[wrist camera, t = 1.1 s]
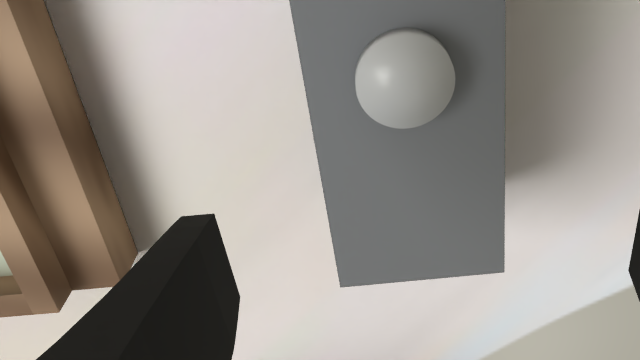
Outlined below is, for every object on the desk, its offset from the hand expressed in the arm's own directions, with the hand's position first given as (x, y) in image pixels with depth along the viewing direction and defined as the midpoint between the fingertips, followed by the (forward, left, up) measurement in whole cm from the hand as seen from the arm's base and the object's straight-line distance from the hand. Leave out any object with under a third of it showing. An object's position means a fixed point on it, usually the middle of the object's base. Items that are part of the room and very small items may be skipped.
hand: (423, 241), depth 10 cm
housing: (-1, 0, -11) cm, 11 cm away
